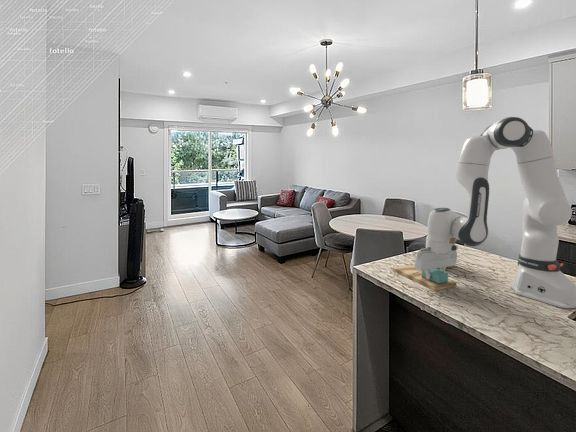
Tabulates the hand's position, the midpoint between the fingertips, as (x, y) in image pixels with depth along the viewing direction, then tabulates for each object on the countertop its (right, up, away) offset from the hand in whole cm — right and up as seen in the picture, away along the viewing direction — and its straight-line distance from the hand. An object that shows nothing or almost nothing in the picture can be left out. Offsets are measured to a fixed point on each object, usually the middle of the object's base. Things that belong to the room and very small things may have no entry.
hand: (434, 277), depth 133 cm
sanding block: (0, -1, 0) cm, 1 cm away
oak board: (-2, -1, +6) cm, 7 cm away
